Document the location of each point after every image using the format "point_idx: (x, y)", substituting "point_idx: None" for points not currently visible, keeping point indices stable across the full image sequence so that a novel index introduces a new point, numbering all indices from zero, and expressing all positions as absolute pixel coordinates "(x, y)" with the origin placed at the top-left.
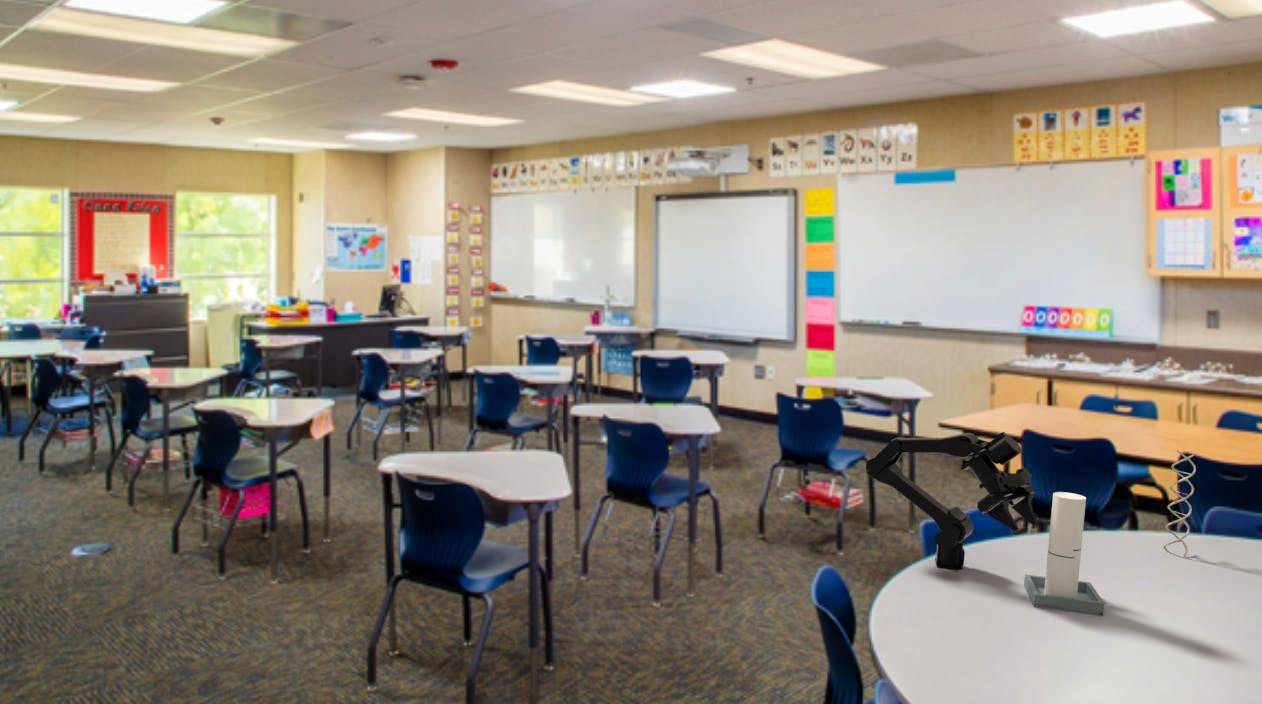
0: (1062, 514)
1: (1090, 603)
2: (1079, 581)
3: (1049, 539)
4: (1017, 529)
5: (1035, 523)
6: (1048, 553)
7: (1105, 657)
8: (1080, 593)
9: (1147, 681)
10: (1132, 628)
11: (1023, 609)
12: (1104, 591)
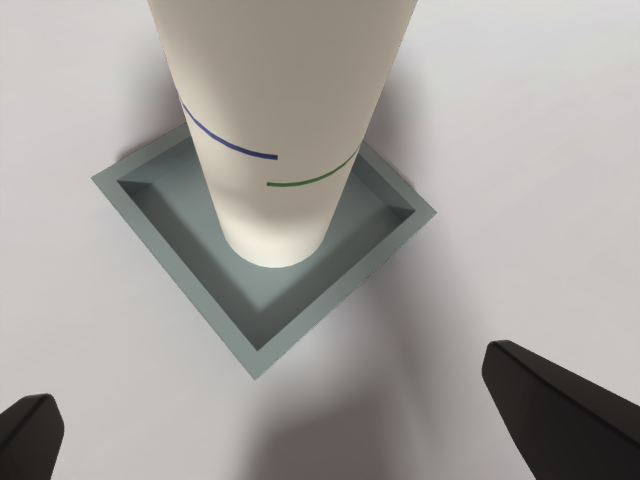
0: None
1: None
2: (122, 202)
3: (361, 112)
4: (506, 343)
5: (46, 409)
6: (344, 167)
7: (511, 9)
8: (170, 196)
9: None
10: None
11: (468, 234)
12: (20, 186)
